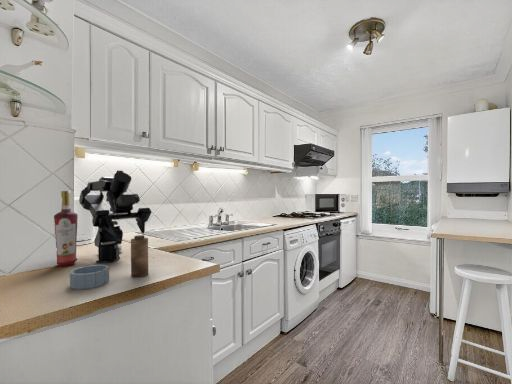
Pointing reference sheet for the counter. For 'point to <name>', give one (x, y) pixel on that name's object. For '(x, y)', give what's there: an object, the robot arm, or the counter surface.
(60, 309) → the counter surface
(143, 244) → the pepper mill
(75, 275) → the blue segmented ring
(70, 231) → the liquor
